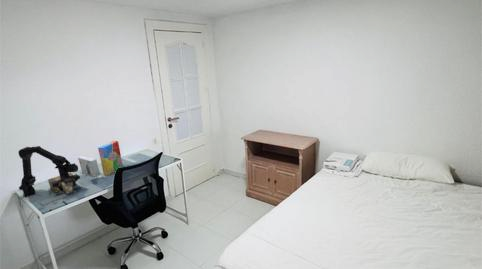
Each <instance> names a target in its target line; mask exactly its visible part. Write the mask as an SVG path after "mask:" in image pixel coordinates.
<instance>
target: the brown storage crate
mask: <svg viewBox="0 0 482 269" xmlns="http://www.w3.org/2000/svg"><path fill="white" fill-rule="evenodd" d="M68 173H69V175H70V176H72V175H74V174H73V172H68ZM47 180H48V184H49V187H50V191H52V192H53V193H54V194H55V193H59V192H61V190H60V189H59V188H58V187H52V186H51V182H54V181H57V182H58V181H61V178H60V175H58V176H55V177H52V178H48V179H47ZM69 184H70V185H71V187H72V188H74V187H73V184H72V182H71V183H69ZM59 185H60V186H61V184H59ZM75 186H77V182H76V183H75ZM61 189H62V187H61ZM62 190H63V189H62Z"/></svg>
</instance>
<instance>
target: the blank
mask: <svg viewBox="0 0 482 269" xmlns="http://www.w3.org/2000/svg"><path fill="white" fill-rule="evenodd" d="M60 184H61V187H62V191H64V193H65V194H70V193H72V192H73V191H74V190H73V187H71V185H70V184H69V183H68V184H65V183H64V182H63V183H60Z"/></svg>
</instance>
